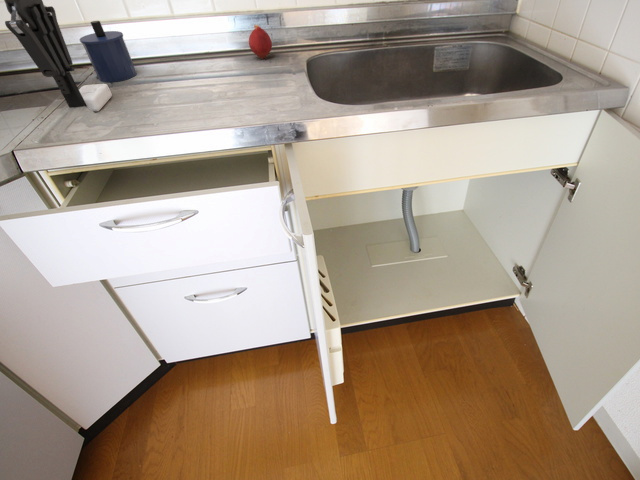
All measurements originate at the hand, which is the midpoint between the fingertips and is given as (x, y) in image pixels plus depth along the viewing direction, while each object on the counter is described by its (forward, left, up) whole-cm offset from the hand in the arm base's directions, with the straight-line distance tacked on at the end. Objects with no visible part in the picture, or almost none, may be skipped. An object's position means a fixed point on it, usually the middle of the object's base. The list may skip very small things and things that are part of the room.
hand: (78, 107), depth 80 cm
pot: (-18, +16, -2) cm, 24 cm away
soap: (-4, +4, -2) cm, 5 cm away
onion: (+1, +47, -2) cm, 47 cm away
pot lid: (-18, +16, +7) cm, 25 cm away
